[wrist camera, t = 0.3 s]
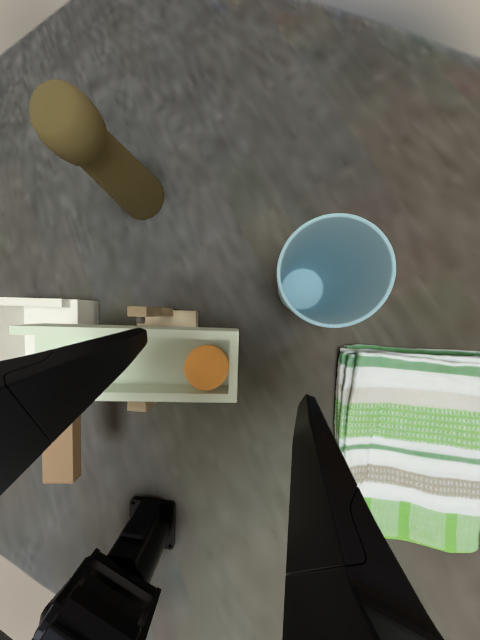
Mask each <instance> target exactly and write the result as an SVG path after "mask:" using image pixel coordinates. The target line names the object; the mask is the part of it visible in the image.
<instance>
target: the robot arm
mask: <svg viewBox="0 0 480 640" xmlns="http://www.w3.org/2000/svg"><path fill="white" fill-rule="evenodd" d="M147 342H148V338H147V331H146V330H145V329H143V328H140V327H138V328H134V329H130V330H126V331H122V332H118V333H114V334H111V335H107V336H103V337H99V338H95V339H91V340H87V341H83V342H79V343H75V344H71V345H67V346H63V347H59V348H57V349H56V348H55V349H51V350H47V351H43V352H39V353H35V354H31V355H26V356H22V357H17V358H12V359H7V360H2V361H0V495H1V494H2V493H3V492H4V491H5V490H6V489H7V488H8V487H9V486H10V485H11V484H12V483H13V482H14V481H15V480H16V479H17V478H18V477H19V476H20V475H21V474H22V473H23V472H24V471H25V470H26V469H27V468H28V467H29V466H30V465H31V464H32V463H33V462H34V461H35V460H36V459H37V458H38V457H39V456H40V455H41V454H42V453H43V452H44V451H45V450H46V449H47V448H48V447H49V446H50V445H51V444H52V442H54V441H55V440H56V439H57V438H58V437H59V436H60V435H61V434H62V433H63V432H64V431H65V430H66V429H67V428H68V427H69V426H70V425H71V424H72V423H73V422H74V421H75V420H76V419H77V418H78V417H79V416H80V415H81V414H82V413H83V412H84V411H85V410H86V409H87V408H88V407H89V406H90V405H91V404H92V403H93V402H94V401H95V400H96V399H97V398H98V397H99V396H100V395H101V394H102V393H103V392H104V391H105V390H106V389H107V388H108V387H109V386H110V385H111V384H112V383H113V382H114V381H115V380H116V379H117V378H118V377H119V376H120V375H121V374H122V373H123V372H124V371H125V370H126V368H127V367H128V366H129V365H130V364H131V363H132V362H133V360H134V359H135V358H136V357H137V356H138V354H139V353H140V352H141V351H142V349H143V348H144V347H145V346H146V344H147ZM174 544H175V504H174V503H173V502H168V501H162V500H155V499H148V498H141V497H133V498H132V499H131V501H130V519H129V521H128V522H127V524H126V525H125V527H124V529H123V530H122V532H121V534H120V536H119V537H118V539H117V541H116V542H115V544H114V545H113V547H112V549H111V550H110V552H109V553H108V555H107V556H106V555H104V554H103V553H101V552H100V550H99V549H98V548H96V549H95V550H94V552H93V553H92V554H91V556H88V557H86V558H85V559H84V560H83V562H82V563H81V565H80V566H79V567H78V569H77V570H76V572H75V573H74V574H73V576H72V577H71V578H70V580H69V581H68V582H67V583H66V584H65V585H64V586H63V588H62V589H61V590H60V591H59V592H58V593H57V594H56V595H55V597H54V598H53V599H52V600H51V601H50V602H49V603H48V605H47V606H46V607H45V609H44V610H43V612H42V614H41V617H40V623H39V626H38V628H37V630H36V632H35V634H34V637H33V638H32V640H146V636H147V633H148V630H149V627H150V624H151V621H152V618H153V615H154V611H155V608H156V605H157V602H158V599H159V596H160V593H161V589H160V588H158V587H157V588H156V587H154V586H153V585H151V584H149V583H150V581H151V578H152V576H153V574H154V571H155V569H156V566H157V564H158V561H159V559H160V556H161V554H162V551H163V549H170V550H171V549H173V547H174ZM286 574H287V575H286V580H285V599H284V619H283V638H282V640H444V639H443V637H442V636H441V634H440V633H439V631H438V630H437V628H436V627H435V625H434V624H433V622H432V620H431V619H430V617H429V615H428V614H427V612H426V610H425V609H424V607H423V605H422V603H421V602H420V600H419V598H418V596H417V595H416V593H415V591H414V589H413V587H412V586H411V584H410V582H409V580H408V579H407V577H406V575H405V573H404V571H403V570H402V568H401V566H400V564H399V563H398V561H397V559H396V557H395V555H394V554H393V552H392V550H391V548H390V547H389V545H388V543H387V541H386V539H385V537H384V536H383V534H382V532H381V530H380V528H379V526H378V525H377V523H376V521H375V519H374V517H373V515H372V513H371V511H370V509H369V507H368V505H367V503H366V501H365V499H364V497H363V495H362V493H361V491H360V489H359V487H357V483H356V481H355V479H354V477H353V475H352V473H351V471H350V469H349V466H348V464H347V462H346V460H345V458H344V456H343V454H342V452H341V450H340V448H339V446H338V444H337V442H336V440H335V438H334V436H333V434H332V432H331V429H330V427H329V425H328V423H327V421H326V419H325V417H324V415H323V413H322V411H321V409H320V407H319V405H318V403H317V401H316V399H315V397H313V396H310V395H308V394H306V395H305V396H304V397H303V399H302V400H301V402H300V404H299V406H298V411H297V417H296V423H295V429H294V435H293V445H292V465H291V484H290V504H289V523H288V543H287V563H286ZM0 640H12V639H11V638H10V637H9V636H7V635H6V634H5V633H4V632H2V631H1V630H0Z"/></svg>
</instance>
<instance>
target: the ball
mask: <svg viewBox="0 0 480 640" xmlns="http://www.w3.org/2000/svg"><path fill="white" fill-rule="evenodd" d="M228 372H229V361H228V358H227V356H226V354H225V353H224V352H223V351H222V350H221V349H220V348H218V347H216V346H214V345H201V346H199V347H196V348H195V349H193V350H192V351H191V352H190V353H189V355H188V356H187V358H186V360H185V364H184V373H185V377H186V379H187V381H188V382H189V383H190V384H191V385H192V386H193V387H195V388H197V389H199V390H212V389H215V388H217V387H218V386H220V385H221V384H222V383H223V382H224V380H225V379H226V377H227V375H228Z"/></svg>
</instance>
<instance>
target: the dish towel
mask: <svg viewBox="0 0 480 640" xmlns="http://www.w3.org/2000/svg"><path fill="white" fill-rule="evenodd" d="M337 373H338V376H337V381H336V401H335V420H334V422H335V440H336V442H337V444H338V446H339V448H340V450H341V452H342V454H343V456H344V458H345V460H346V462H347V464H348V466H349V469H350V471H351V473H352V475H353V477H354V479H355V481H356V483H357V487H359V489H360V491H361V493H362V495H363V497H364V499H365V501H366V503H367V505H368V507H369V509H370V511H371V513H372V515H373V517H374V519H375V521H376V523H377V525H378V526H379V528H380V530H381V532H382V534H383V536H384V537H385V538H387V539H398V540H405V541H409V542H413V543H416V544H420V545H424V546H428V547H431V548H434V549H438V550H441V551H445V552H449V553H472V552H475V551H477V549H478V537H479V530H480V351H465V350H447V349H420V348H417V349H412V348H399V347H384V346H377V345H363V344H356V345H344V348H340V355H339V359H338V369H337Z"/></svg>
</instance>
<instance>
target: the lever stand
mask: <svg viewBox="0 0 480 640" xmlns="http://www.w3.org/2000/svg"><path fill="white" fill-rule="evenodd" d="M198 312H199V311H178V310H173V308H162V307H138V306H127V316H133V317H136V323H137V326H168V327H198ZM156 403H157V402H139V401H127V411H138V412H147V411H148V410H149V409H150V408H151V407H152V406H153V405H155V404H156Z"/></svg>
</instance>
